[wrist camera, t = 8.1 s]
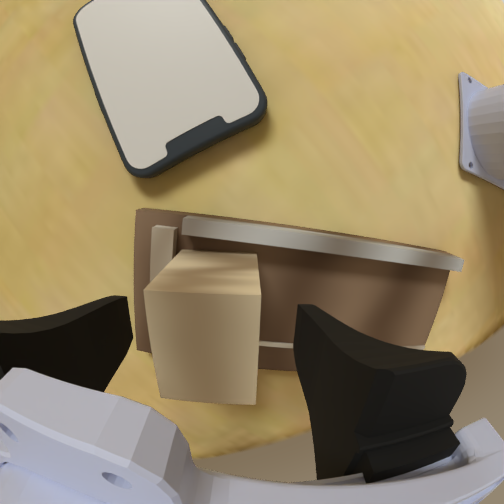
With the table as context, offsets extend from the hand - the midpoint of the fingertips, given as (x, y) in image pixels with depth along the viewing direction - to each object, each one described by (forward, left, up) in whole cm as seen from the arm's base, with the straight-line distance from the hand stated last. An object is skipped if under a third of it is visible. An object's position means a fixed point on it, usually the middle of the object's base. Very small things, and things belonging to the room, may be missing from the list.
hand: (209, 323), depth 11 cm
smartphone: (+6, -14, -6) cm, 17 cm away
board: (-5, +1, -6) cm, 7 cm away
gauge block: (0, +1, -4) cm, 4 cm away
